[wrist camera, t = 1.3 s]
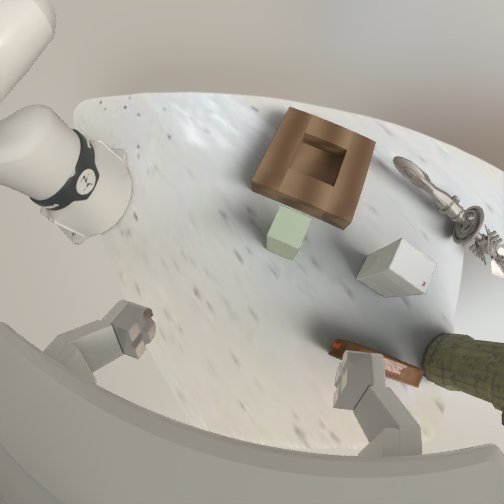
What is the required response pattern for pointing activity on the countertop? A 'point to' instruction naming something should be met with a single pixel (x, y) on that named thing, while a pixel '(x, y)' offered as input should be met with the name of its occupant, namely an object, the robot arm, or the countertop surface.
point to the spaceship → (457, 216)
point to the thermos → (467, 367)
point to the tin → (392, 366)
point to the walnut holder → (315, 167)
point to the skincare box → (397, 270)
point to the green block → (287, 232)
